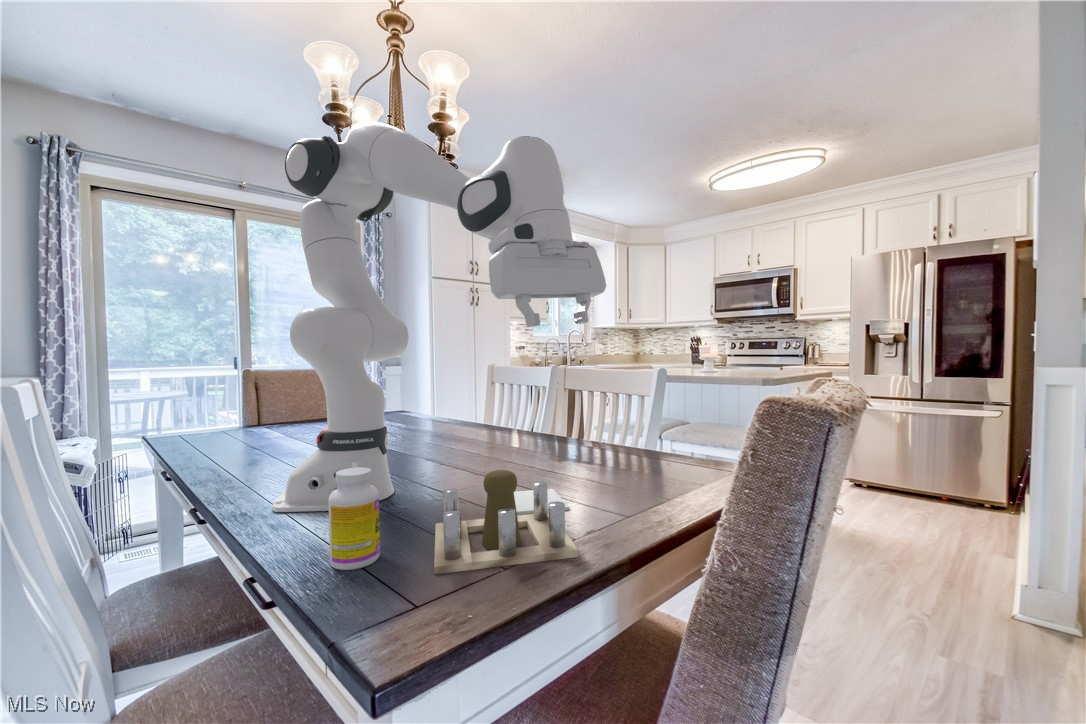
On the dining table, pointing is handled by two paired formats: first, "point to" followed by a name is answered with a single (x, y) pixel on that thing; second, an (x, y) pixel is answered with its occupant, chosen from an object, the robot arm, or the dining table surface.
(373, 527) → the supplement bottle
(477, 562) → the board
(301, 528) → the dining table surface
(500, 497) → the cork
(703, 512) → the dining table surface
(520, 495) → the mat
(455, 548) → the steel spacers
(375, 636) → the dining table surface
